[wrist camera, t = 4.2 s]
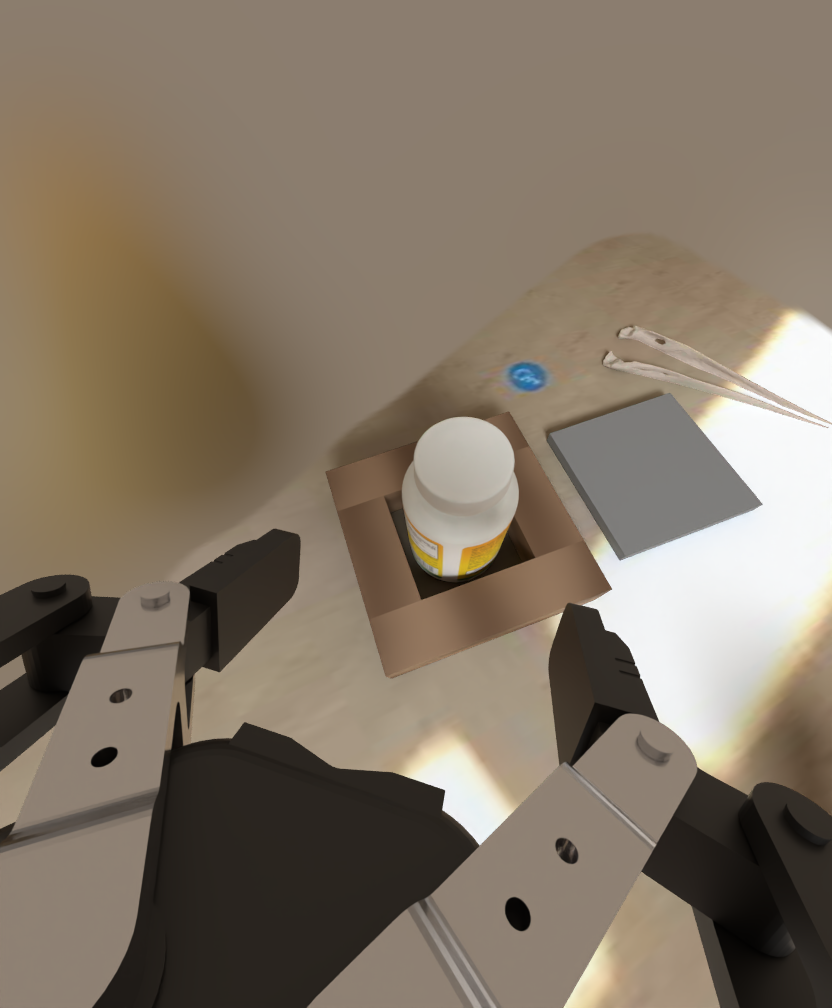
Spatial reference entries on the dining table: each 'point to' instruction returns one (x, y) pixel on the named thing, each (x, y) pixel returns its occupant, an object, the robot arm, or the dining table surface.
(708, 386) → the animal jaw bone
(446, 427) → the supplement bottle
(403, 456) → the brown square frame
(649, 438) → the coaster pad
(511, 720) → the dining table surface
